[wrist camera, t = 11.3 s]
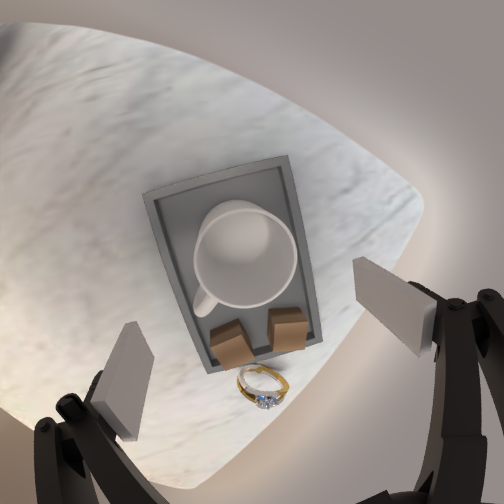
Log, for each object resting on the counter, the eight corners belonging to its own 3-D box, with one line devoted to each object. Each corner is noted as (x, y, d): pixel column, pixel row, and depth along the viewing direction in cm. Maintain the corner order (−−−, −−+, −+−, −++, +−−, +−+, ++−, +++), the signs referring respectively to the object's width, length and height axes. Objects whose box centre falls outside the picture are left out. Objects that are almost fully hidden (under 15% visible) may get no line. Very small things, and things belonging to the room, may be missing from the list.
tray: (147, 192, 30) (142, 193, 27) (282, 156, 31) (287, 155, 28) (207, 363, 36) (207, 374, 34) (316, 332, 37) (322, 341, 35)
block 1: (209, 330, 34) (209, 347, 30) (238, 318, 34) (241, 334, 30) (223, 352, 35) (225, 371, 31) (250, 341, 35) (255, 358, 32)
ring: (232, 368, 37) (237, 407, 29) (240, 352, 37) (247, 390, 29) (275, 378, 39) (287, 416, 31) (284, 363, 38) (299, 399, 30)
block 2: (268, 308, 34) (274, 324, 31) (298, 306, 35) (308, 321, 31) (266, 335, 35) (273, 352, 32) (296, 333, 36) (304, 349, 32)
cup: (285, 226, 32) (317, 247, 22) (226, 306, 34) (232, 354, 24) (227, 184, 30) (234, 186, 20) (168, 270, 31) (151, 309, 22)
